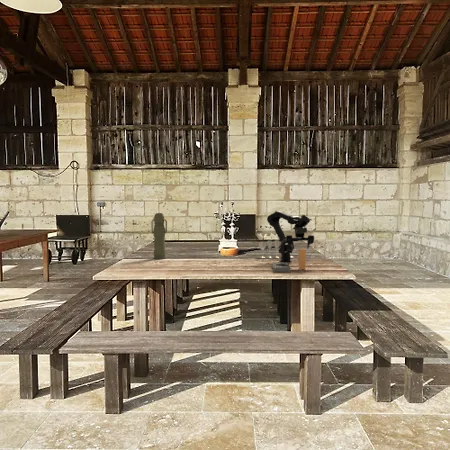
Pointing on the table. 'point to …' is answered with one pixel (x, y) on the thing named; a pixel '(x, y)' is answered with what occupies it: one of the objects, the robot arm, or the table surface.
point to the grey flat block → (280, 267)
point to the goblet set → (263, 245)
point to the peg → (301, 259)
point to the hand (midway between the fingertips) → (300, 249)
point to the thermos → (159, 236)
